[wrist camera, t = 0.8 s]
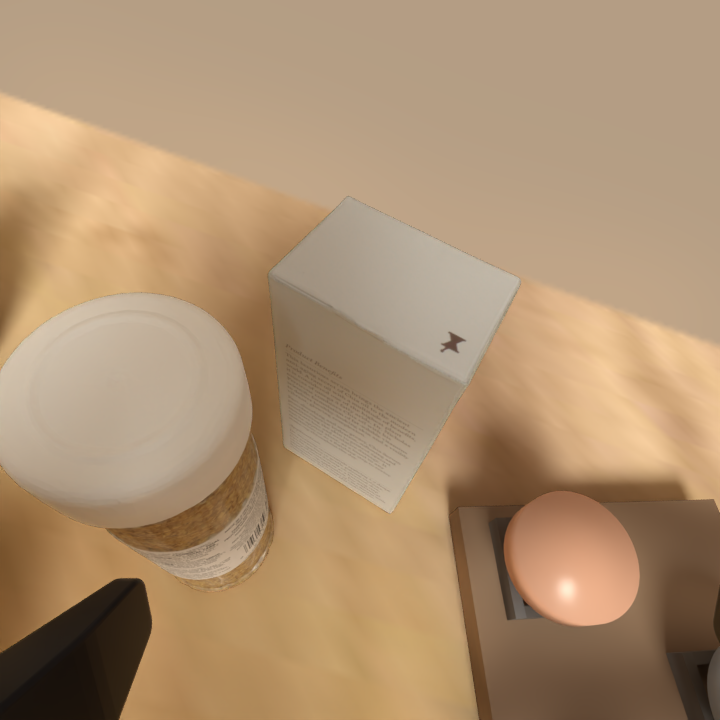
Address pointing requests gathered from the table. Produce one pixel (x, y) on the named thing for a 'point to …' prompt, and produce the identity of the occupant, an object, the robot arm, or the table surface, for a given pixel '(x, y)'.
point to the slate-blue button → (714, 684)
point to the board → (596, 642)
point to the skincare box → (377, 344)
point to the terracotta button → (571, 560)
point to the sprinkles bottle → (141, 433)
